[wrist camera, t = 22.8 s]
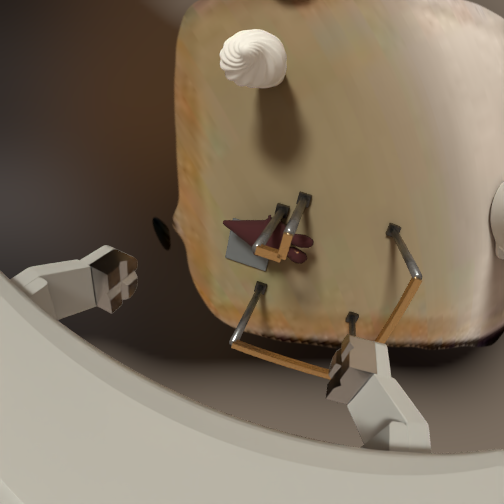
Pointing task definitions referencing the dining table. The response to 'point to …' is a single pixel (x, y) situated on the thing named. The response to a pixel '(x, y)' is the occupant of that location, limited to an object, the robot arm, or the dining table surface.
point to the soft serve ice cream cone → (254, 59)
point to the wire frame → (277, 255)
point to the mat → (244, 252)
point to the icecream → (254, 228)
